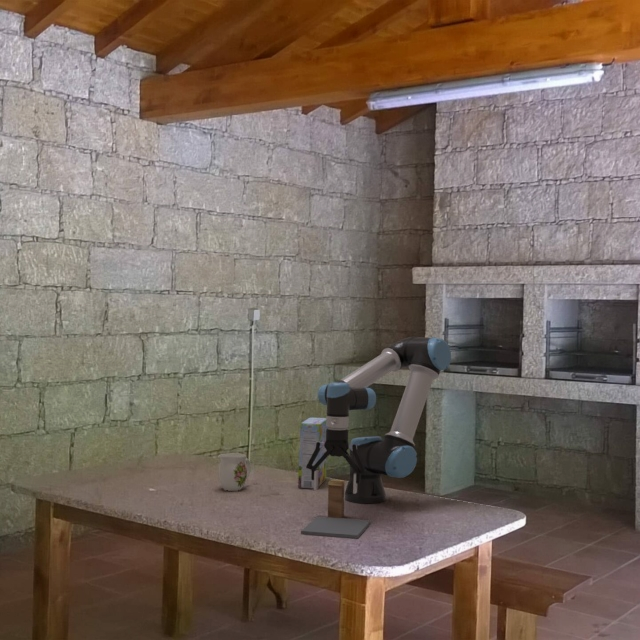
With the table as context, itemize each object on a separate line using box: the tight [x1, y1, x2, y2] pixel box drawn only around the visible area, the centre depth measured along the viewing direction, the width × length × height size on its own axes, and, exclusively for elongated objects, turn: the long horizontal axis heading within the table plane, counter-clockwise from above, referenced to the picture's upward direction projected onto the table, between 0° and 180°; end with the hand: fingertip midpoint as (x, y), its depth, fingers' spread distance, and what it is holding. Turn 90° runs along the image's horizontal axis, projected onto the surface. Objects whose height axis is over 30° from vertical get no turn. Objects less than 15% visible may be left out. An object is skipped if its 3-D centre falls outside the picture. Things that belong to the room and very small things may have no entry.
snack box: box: [297, 417, 328, 490], centre depth 347 cm, size 22×9×26 cm, turn 171°
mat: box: [300, 516, 371, 540], centre depth 276 cm, size 20×18×1 cm
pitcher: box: [217, 452, 252, 492], centre depth 335 cm, size 11×18×14 cm, turn 143°
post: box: [327, 479, 345, 518], centre depth 292 cm, size 4×4×12 cm
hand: (335, 491), depth 292 cm, fingers open, 13 cm apart
